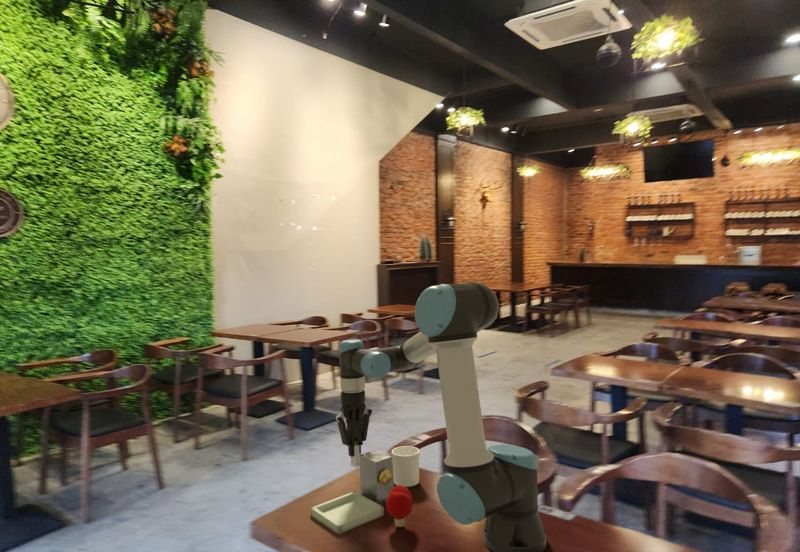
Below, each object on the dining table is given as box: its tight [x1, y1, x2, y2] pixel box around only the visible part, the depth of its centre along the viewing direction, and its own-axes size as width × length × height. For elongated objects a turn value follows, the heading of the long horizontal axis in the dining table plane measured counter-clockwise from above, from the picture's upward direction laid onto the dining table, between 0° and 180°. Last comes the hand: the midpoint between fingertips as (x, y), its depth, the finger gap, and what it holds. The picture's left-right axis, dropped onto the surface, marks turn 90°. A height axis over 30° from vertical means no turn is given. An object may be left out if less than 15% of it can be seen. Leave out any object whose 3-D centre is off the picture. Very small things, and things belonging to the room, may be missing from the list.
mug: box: [391, 445, 421, 489], centre depth 164 cm, size 11×9×10 cm
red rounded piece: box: [385, 486, 414, 529], centre depth 135 cm, size 9×7×10 cm
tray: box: [310, 490, 385, 535], centre depth 143 cm, size 14×15×2 cm
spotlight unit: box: [358, 449, 394, 508], centre depth 152 cm, size 10×7×13 cm
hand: (355, 465), depth 159 cm, fingers closed
